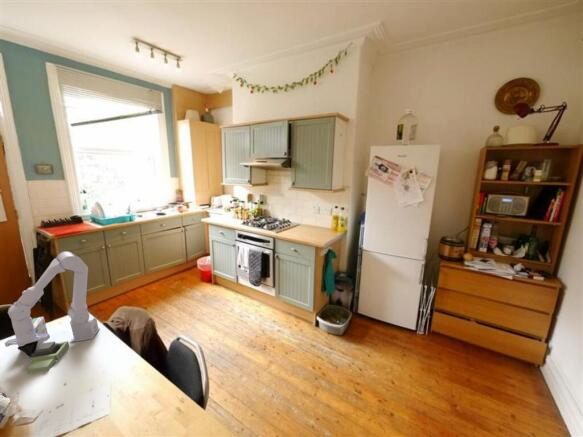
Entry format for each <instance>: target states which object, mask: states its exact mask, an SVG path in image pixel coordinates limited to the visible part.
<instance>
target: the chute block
mask: <svg viewBox="0 0 583 437" xmlns="http://www.w3.org/2000/svg"><path fill="white" fill-rule="evenodd" d="M55 343H56V344H55ZM58 343H59V342H56V341H49V342H43V343H42V344H40V346H39V347H38V348H37V349H36V350H35V351H34V352H33V353H32V354H31V356H32V357H38V356H44V355H50V354H56V353H57V351H58V350H59V347H58ZM32 357H31V358H32Z"/></svg>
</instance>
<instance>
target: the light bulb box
mask: <svg viewBox="0 0 583 437" xmlns="http://www.w3.org/2000/svg"><path fill="white" fill-rule="evenodd" d="M32 321H33V325H34V328H35V332H36V334H49V332H48V328H47V325H46V321H45V317H44V316H39V317H34V318H32ZM14 335H15V334H14ZM15 337H16V335H15ZM42 343H45V341H44V340H41V341H38V344H37V347H36V349H37V348H38V347H39V346H40V344H42ZM19 351H20V353H24V352H23V351H21V350H19Z"/></svg>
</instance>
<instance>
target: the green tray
mask: <svg viewBox="0 0 583 437" xmlns="http://www.w3.org/2000/svg"><path fill="white" fill-rule="evenodd" d="M56 343H58V347H59V350H58V351H57V353H56V354H50V355H44V356H38V357H31V358H30V359H29V360H30V363H31V364H30V365H29V367H28V368H27V369H26V371H27V374H28V375H29V374H35V373H39V372H46V371H49V370H50V369H51V368H52V367H53V365H54V364H55V363H56V361H57V362H58V361H60V359H61V358H62V357H63V356H64V354H65V352H67V351H68V349H69V348H70V342H69V341H68V340H66V341H61V342H55V344H56Z"/></svg>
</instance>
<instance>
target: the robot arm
mask: <svg viewBox="0 0 583 437" xmlns="http://www.w3.org/2000/svg"><path fill="white" fill-rule="evenodd" d="M66 270H67V271H68V270H69V271H73V272H74V274H73V286H72V287H73V288H72V302H71V303H70V307H69V308H68V310H67V316H69V317H70V322H69V324H70V328H71V331H72V336H73V337H71V339H70V340H69V343H74V342H75V343H76V342H80V341H87V340H93V339H94V337H95V336H96V334H97V333H98V331H100V327H99V324H98V321H97V318H96V317H91V316H90V313H89V311H88V305H87V293H88V292H87V290H88V289H87V288H88V278H89V276H88V275H89V267H88V265H87V264H86V263H85V262H84V261H83V260H82V258H81V257H79V256H78V255H76V254H75V253H72V252H71V251H61V252H60V253H59V254H58V255H56V258H54V259H53V260H52V261H51V262H50V264H49V266H48V267H47V268H46V270H45V271H44V272H43V273H42V275H41V276H40V278H39V279H37V281H36V282H35V284H34V285H33V286H31V287H28V288H27V289H26V290H23V291H22V293H21V294H22V295H21V296H20V297H18V300H17V301H15V302H13V304H12V305H11V306H9V308H8V311H7V314H8V316H9V318H10V319H11V325H12V328H13V332H14V335H16V336H15V338H12V339H7V341H5V342H4V346H5V347H7V348H8V347H10V346H14V345H17V350H19V351H20V350H21V351H23V352H22V353H23V354H25V355H27V357H28V358H30V359H31V358H32V356H31V354H32V353H33V352H34V351H35V350H36V347H37V344H38V341H41V340H44V342H45V341H48V340H49V339H50V338H51V336H50V334H49V333H48V334H36V332H35V328H34V325H33V321H32V319H33V318H32V317H31V313H32V312H31V311H32V310H31V309H32V308H33V307H34V306H35V305H36V303H37V302H38V301H39V300H40V299H41V297H42V296H43V295H44V288H46V287H47V286H48V284H49V283H50V282H51V281H52V280H53V279H54V277H55V276H56V275H57V274H61V273H64V272H66ZM21 351H20V352H21Z"/></svg>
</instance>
